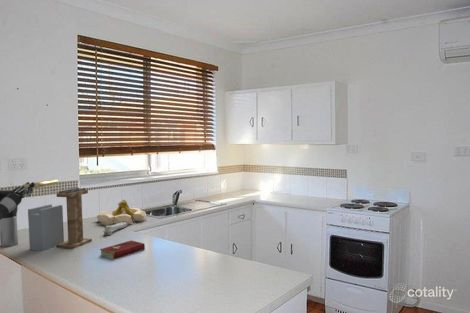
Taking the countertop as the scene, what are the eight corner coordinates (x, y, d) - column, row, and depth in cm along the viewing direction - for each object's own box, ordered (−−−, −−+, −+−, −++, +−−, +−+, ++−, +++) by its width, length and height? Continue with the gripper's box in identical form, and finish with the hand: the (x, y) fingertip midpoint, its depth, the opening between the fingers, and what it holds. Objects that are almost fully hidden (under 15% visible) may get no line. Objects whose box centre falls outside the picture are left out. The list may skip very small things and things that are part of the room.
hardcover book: (144, 250, 219) (144, 242, 219) (113, 260, 202) (113, 252, 202) (131, 246, 226) (131, 239, 226) (100, 256, 209) (99, 248, 209)
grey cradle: (43, 250, 219) (41, 210, 218) (29, 249, 223) (27, 209, 221) (64, 243, 234) (62, 205, 233) (51, 242, 238) (49, 204, 236)
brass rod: (26, 190, 212) (26, 184, 212) (22, 189, 213) (22, 184, 213) (58, 184, 235) (58, 179, 235) (54, 184, 236) (54, 179, 236)
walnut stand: (73, 248, 222) (70, 191, 221) (56, 247, 226) (54, 191, 224) (91, 241, 238) (89, 188, 236) (76, 239, 241) (73, 187, 240)
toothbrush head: (128, 221, 274) (109, 225, 249) (127, 231, 273) (108, 235, 249) (121, 221, 275) (101, 224, 251) (121, 230, 274) (101, 235, 250)
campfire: (119, 228, 270) (118, 204, 269) (88, 223, 287) (87, 201, 286) (154, 219, 299) (153, 197, 298) (123, 214, 317) (123, 194, 316)
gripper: (16, 198, 200) (38, 178, 213) (-5, 197, 204) (18, 177, 218) (22, 209, 203) (44, 188, 217) (2, 207, 208) (24, 188, 222)
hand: (31, 183), depth 217 cm, fingers closed on brass rod, 3 cm apart
